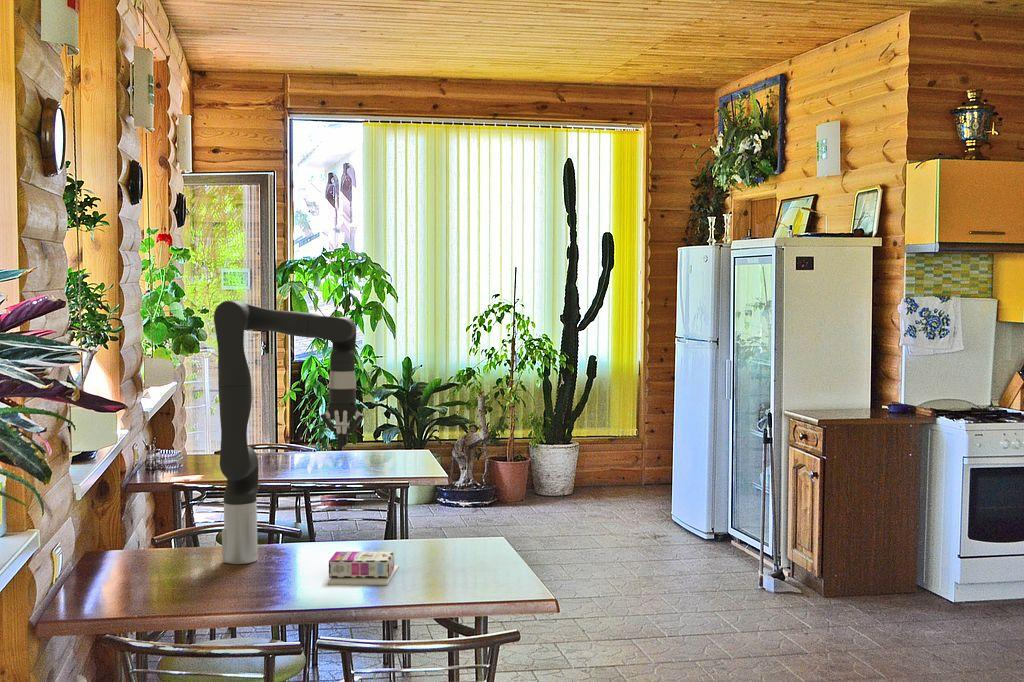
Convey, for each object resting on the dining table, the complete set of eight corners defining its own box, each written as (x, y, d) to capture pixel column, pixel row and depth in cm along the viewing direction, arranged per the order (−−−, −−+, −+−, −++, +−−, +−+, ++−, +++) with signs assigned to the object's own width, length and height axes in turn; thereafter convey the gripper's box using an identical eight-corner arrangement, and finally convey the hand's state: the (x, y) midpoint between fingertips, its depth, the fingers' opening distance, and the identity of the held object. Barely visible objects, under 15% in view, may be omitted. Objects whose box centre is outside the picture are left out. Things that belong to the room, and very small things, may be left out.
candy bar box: (328, 579, 291) (389, 578, 290) (327, 560, 291) (388, 560, 290) (336, 568, 302) (395, 568, 302) (336, 551, 302) (394, 550, 301)
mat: (327, 584, 288) (327, 582, 288) (343, 566, 306) (343, 564, 306) (387, 585, 287) (387, 583, 286) (399, 567, 304) (399, 565, 304)
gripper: (316, 387, 307) (316, 448, 308) (362, 388, 305) (362, 449, 306) (323, 384, 314) (323, 444, 315) (368, 385, 313) (368, 445, 314)
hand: (342, 446), depth 311 cm, fingers closed
